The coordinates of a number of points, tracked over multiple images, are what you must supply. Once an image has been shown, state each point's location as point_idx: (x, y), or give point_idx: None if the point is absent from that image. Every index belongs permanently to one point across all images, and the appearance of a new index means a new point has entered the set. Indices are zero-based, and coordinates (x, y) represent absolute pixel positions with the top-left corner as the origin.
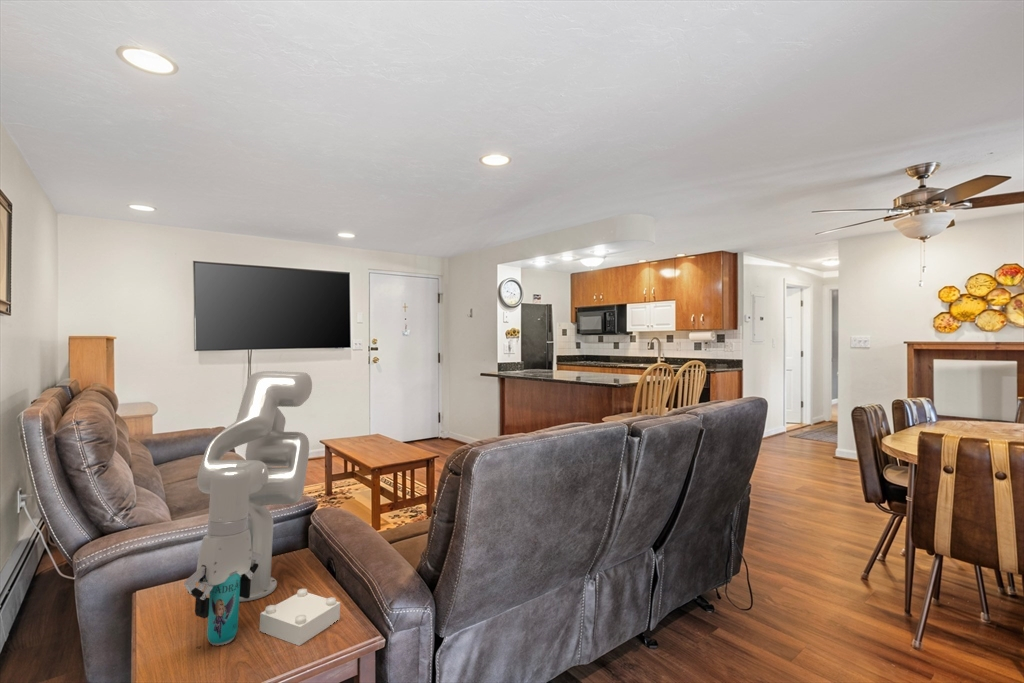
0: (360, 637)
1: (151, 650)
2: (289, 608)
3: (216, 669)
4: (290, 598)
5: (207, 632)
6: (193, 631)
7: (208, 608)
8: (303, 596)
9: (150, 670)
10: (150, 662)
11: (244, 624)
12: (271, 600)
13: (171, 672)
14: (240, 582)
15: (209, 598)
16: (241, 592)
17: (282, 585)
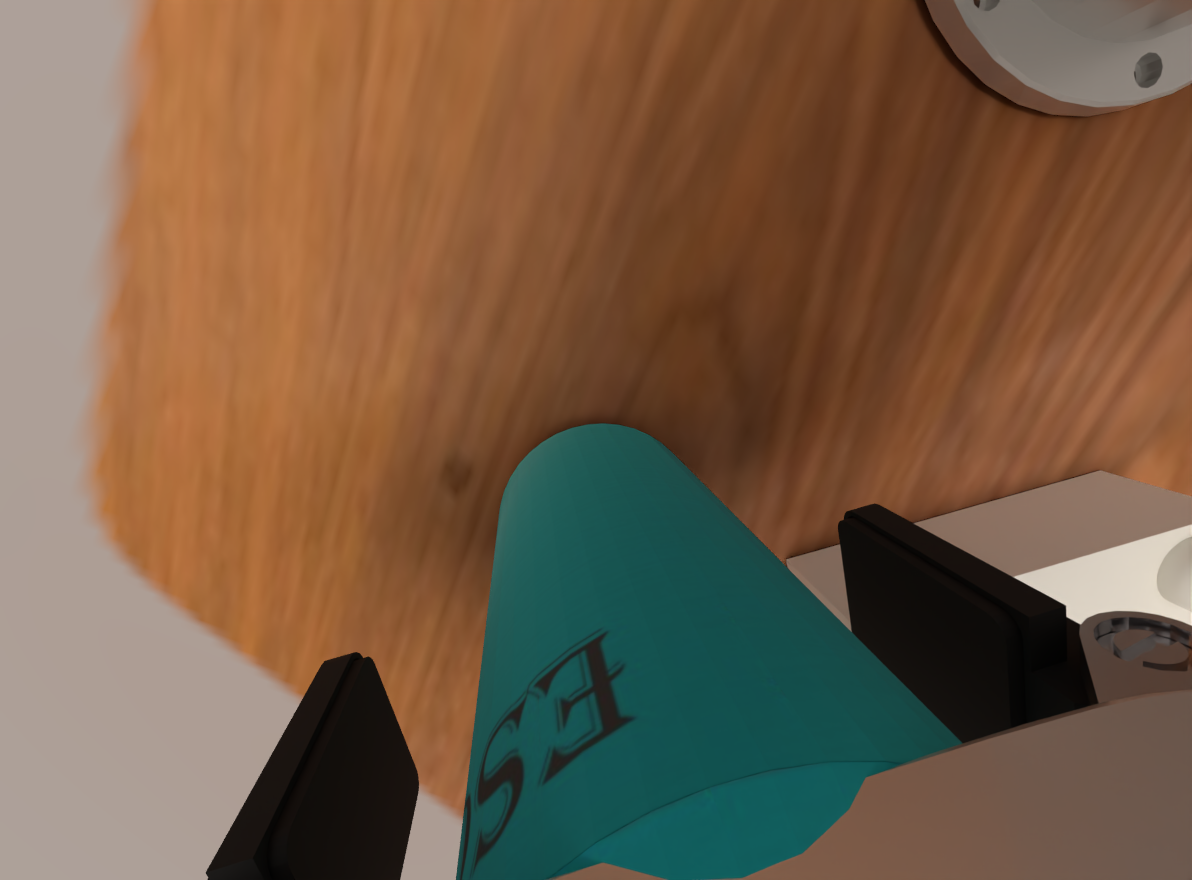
0: None
1: (186, 277)
2: None
3: (449, 759)
4: (1111, 564)
5: (500, 511)
6: (500, 232)
7: (397, 866)
8: (1175, 604)
9: (141, 533)
10: (155, 438)
11: (775, 410)
12: (1073, 213)
13: (246, 636)
14: (966, 646)
15: (476, 709)
16: (874, 602)
17: None
